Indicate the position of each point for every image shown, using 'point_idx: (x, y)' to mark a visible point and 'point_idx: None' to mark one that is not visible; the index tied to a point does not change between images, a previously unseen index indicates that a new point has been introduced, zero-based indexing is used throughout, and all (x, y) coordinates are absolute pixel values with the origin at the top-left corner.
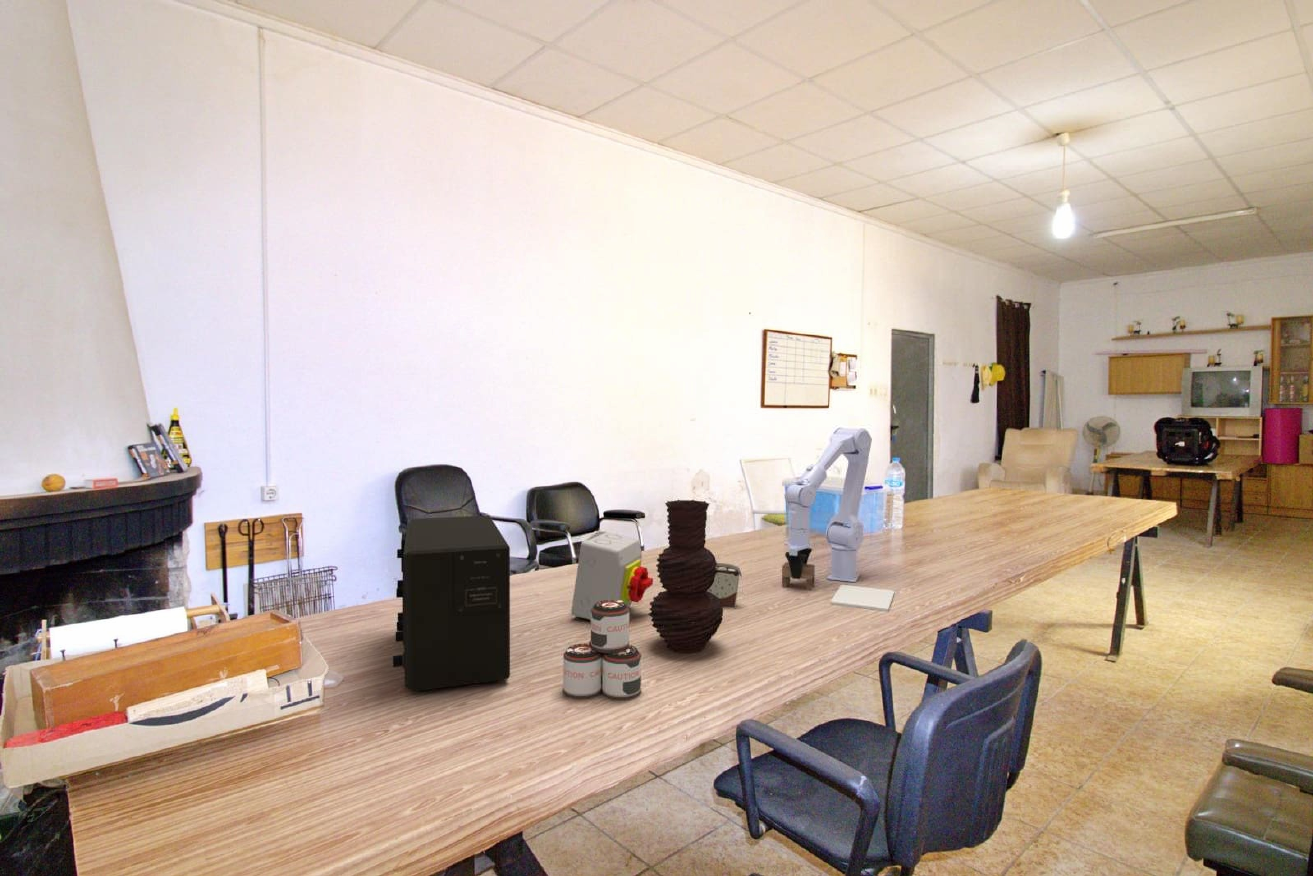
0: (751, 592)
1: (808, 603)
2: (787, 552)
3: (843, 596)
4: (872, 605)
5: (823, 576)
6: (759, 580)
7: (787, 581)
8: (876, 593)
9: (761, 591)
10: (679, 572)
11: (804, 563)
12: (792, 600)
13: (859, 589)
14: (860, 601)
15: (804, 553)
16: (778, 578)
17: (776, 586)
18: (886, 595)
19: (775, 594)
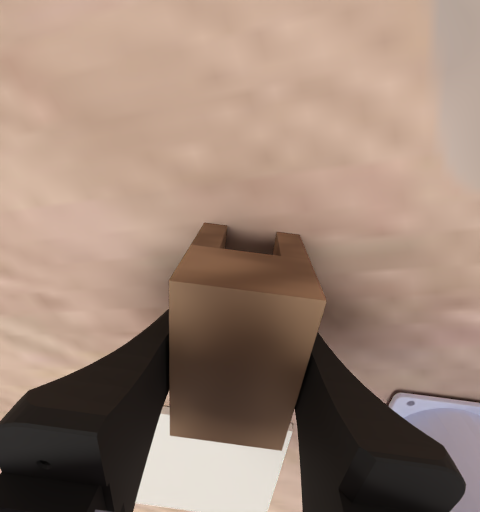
0: (5, 61)
1: (18, 337)
2: (60, 443)
3: None
4: None
5: (459, 377)
6: (319, 56)
7: (274, 249)
8: (216, 491)
9: (63, 123)
10: None
11: (298, 409)
12: (15, 285)
13: (245, 466)
14: None
15: (312, 499)
16: (396, 182)
17: (206, 193)
18: (205, 505)
19: (55, 207)
